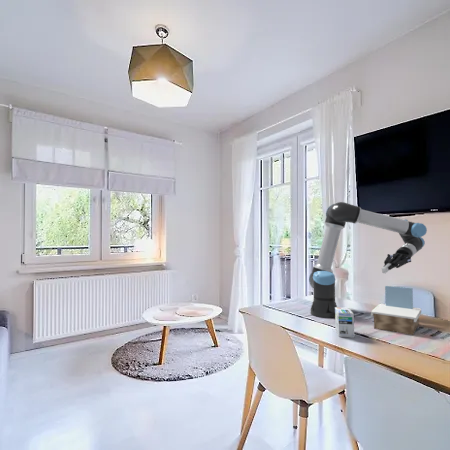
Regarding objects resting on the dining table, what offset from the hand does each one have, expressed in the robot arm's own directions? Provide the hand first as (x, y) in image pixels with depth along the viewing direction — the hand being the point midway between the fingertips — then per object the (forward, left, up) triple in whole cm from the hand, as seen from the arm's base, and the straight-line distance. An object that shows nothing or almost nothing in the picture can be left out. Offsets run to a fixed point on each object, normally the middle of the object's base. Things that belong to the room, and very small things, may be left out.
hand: (383, 271), depth 163 cm
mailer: (+7, -11, -25) cm, 28 cm away
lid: (+7, -11, -19) cm, 23 cm away
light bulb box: (-10, -37, -26) cm, 46 cm away
